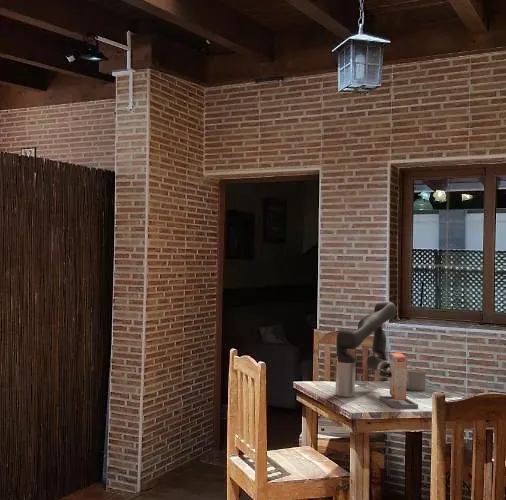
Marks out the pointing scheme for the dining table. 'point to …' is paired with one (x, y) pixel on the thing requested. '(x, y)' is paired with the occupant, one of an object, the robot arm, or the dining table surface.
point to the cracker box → (398, 376)
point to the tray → (398, 402)
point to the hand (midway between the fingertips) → (398, 375)
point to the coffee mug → (415, 379)
